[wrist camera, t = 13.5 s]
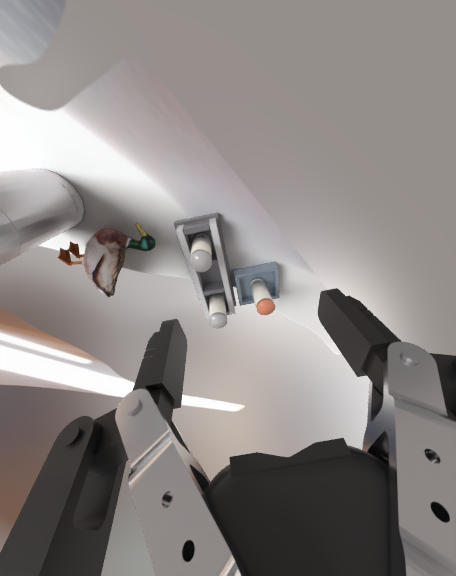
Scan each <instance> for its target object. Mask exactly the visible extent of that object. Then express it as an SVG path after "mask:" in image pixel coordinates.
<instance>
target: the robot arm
mask: <svg viewBox="0 0 456 576" xmlns="http://www.w3.org/2000/svg"><path fill="white" fill-rule="evenodd" d="M83 215H84V206H83V203H82V200H81V198H80V196H79V194H78V193H77V191H76V190H75V188H74V187H73V186H72V185H71V184H70V183H69V182H68V181H66V180H65V179H64V178H62V177H61V176H59V175H57V174H56V173H53V172H51V171H48V170H44V169H29V170H16V171H4V172H0V266H1V265H2V264H4V263H6V262H8V261H10V260H12V259H14V258H15V257H17V256H19V255H21V254H23V253H25V252H27V251H28V250H30V249H32V248H34V247H36V246H38V245H40V244H42V243H43V242H45V241H47V240H49V239H51V238H53V237H55V236H57V235H58V234H60V233H62V232H64V231H66V230H68V229H70V228H72V227H73V226H75V225H77V224H78V223H79V222H80V221H81V220H82V218H83ZM318 317H319V320H320V322H321V323H322V325H323V326H324V328H325V329H326V331H327V332H328V334H329V335H330V337H331V338H332V340H333V341H334V343H335V344H336V346H337V347H338V349H339V350H340V352H341V353H342V355H343V356H344V357H345V359H346V360H347V362H348V363H349V365H350V366H351V368H352V369H353V371H354V372H355V374H356V375H357V377H360V376H366V375H367V376H368V377H369V379H370V380H371V381H370V385H369V403H368V420H367V427H366V431H365V435H364V440H363V450H360V449H358V448H354V447H351V446H347V444H346V442H345V440H344V438H340V439H334V440H329V441H323V442H316V443H314V444H312V445H310V446H308V447H307V448H305V449H303V450H301V451H300V452H298V453H296V454H294V455H293V456H291V457H280V456H275V455H269V454H263V453H251V454H245V455H239V456H234V457H230V465H228V466H226V467H225V468H224V469H222V470H221V471H220V472H219V473H218V474H217V475H216V476H215V477H214V478H213V480H212V481H211V482H210V480H209V478H208V477H207V475H206V473H205V472H204V470H203V468H202V467H201V465H200V464H199V462H198V461H197V460H196V458H195V457H194V455H193V454H192V452H191V451H190V449H189V447H188V445H187V443H186V442H185V440H184V438H183V437H182V435H181V433H180V431H179V430H178V428H177V426H176V425H175V423H174V421H173V419H172V413H173V409H175V408H180V407H181V400H182V391H183V380H184V372H185V362H186V352H187V340H186V336H185V334H184V332H183V330H182V328H181V326H180V323H179V321H178V320H177V319H173V320H167V321H163V322H162V324H161V328H160V331H159V332H155V333H154V334H153V336H152V337H151V338H150V340H149V342H148V344H147V348H146V352H145V354H144V359H143V360H142V363H141V367H140V370H139V373H138V376H137V379H136V382H135V386H134V388H133V391H132V392H130V393H129V394H128V395H126V396H125V397H124V398H123V400H122V401H121V402H120V404H119V406H118V408H116V409H114V410H113V411H111V412H109V413H107V414H105V415H103V416H101V417H99V418H97V419H95V420H94V419H92V418H91V417H88V416H82V417H79V418H77V419H75V420H74V421H72V422H71V423H69V424H68V425H67V426H66V427H65V428H64V429H63V430H62V432H61V433H60V434H59V436H58V437H57V439H56V441H55V442H54V444H53V446H52V449H51V450H50V453H49V455H48V457H47V459H46V461H45V463H44V465H43V467H42V469H41V471H40V473H39V475H38V477H37V479H36V481H35V483H34V485H33V487H32V489H31V491H30V493H29V495H28V498H27V500H26V502H25V504H24V506H23V508H22V510H21V512H20V514H19V516H18V518H17V520H16V522H15V524H14V526H13V528H12V530H11V532H10V534H9V536H8V538H7V540H6V542H5V544H4V546H3V549H2V550H1V552H0V576H101V572H102V568H103V563H104V559H105V554H106V550H107V545H108V540H109V536H110V531H111V527H112V523H113V518H114V514H115V509H116V505H117V500H118V496H119V491H120V487H121V482H122V477H123V473H124V469H125V464H126V461H128V460H129V463H130V466H131V473H130V474H129V477H128V481H129V487H130V491H131V494H132V497H133V501H134V504H135V508H136V511H137V514H138V518H139V521H140V524H141V527H142V531H143V534H144V537H145V541H146V544H147V548H148V551H149V554H150V557H151V561H152V564H153V567H154V571H155V574H156V576H456V356H452V355H442V354H432V353H428V352H427V351H426V350H424V349H422V348H421V347H419V346H417V345H414V344H411V343H407V342H402V341H401V340H399V339H398V338H397V337H396V336H395V335H394V334H393V333H392V332H391V331H390V330H389V329H388V328H387V327H386V326H385V325H384V324H383V323H382V322H381V321H380V320H379V319H378V318H377V317H376V316H374V315H373V314H372V313H371V312H370V311H369V310H367V308H366V307H365V306H364V305H363V304H362V303H361V302H360V301H358V300H356V299H355V298H352V297H350V296H345V295H344V294H343V293H342V292H340V290H339V289H337V288H336V289H331V290H325V291H322V292H321V294H320V300H319V307H318Z"/></svg>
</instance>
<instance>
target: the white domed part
mask: <svg viewBox="0 0 456 576" xmlns="http://www.w3.org/2000/svg"><path fill="white" fill-rule="evenodd" d="M189 263H190V266H191V268H192V269H193V270H195V271H197V272H205V271H207V270H208V269H210V267H211V265H212V252H211V239H210V237H209V236H208V235H207V234H206V233H198V234H196V235H195V236H194V238H193V243H192V249H191V255H190V260H189Z"/></svg>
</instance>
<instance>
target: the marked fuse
mask: <svg viewBox="0 0 456 576" xmlns="http://www.w3.org/2000/svg"><path fill="white" fill-rule="evenodd" d="M249 285H250V289H251V292H252V295H253V298H254V301H255V305H256V308H257V311H258V313H260V314H261V315H268V314H270V313H272V312H273V311H274V309H275V305H274V302H273V300H272V298H271V296H270V293H269V291H268V289H267V287H266V284H265V282H264V280H263V279H262V278H260V277H256V278H253V279H252V280H251V281H250V284H249Z"/></svg>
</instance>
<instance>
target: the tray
mask: <svg viewBox="0 0 456 576" xmlns="http://www.w3.org/2000/svg"><path fill="white" fill-rule="evenodd" d="M233 272H234V277H235V282H236V288H237V293H238V298H239V303H240V305H245V304H251V303H255V301H254V298H253V295H252V292H251V289H250V285H249V284H250V281H251V280H252V279H253V278H256V277H260V278H262V279H263V280H264V282H265V284H266V287H267V289H268V291H269V293H270V296H271V298H272V299H276V298H279V267H278V266H277V264H276V262H271V263H266V264H261V265H256V266H251V267H246V268H241V269H236V270H233Z"/></svg>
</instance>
